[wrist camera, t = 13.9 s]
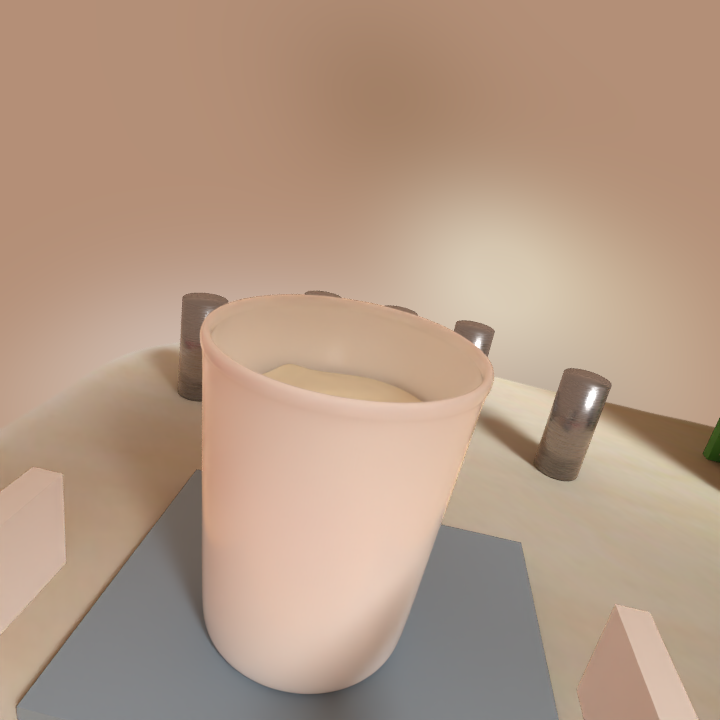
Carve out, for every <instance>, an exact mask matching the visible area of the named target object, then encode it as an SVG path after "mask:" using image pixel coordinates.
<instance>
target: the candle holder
mask: <svg viewBox="0 0 720 720" xmlns="http://www.w3.org/2000/svg"><path fill="white" fill-rule="evenodd" d="M200 344H201V348H202V606H203V615H204V621H205V625H206V628H207V631H208V634H209V636H210V638H211V640H212V642H213V644H214V646H215V647H216V649H217V650H218V652H219V653H220V654H221V656H222V657H223V658H224V659H225V660H226V661H227V662H228V663H229V664H230V665H231V666H232V667H233V668H235V669H236V670H237V671H238V672H240V673H241V674H243V675H244V676H246V677H247V678H249V679H251V680H253V681H255V682H257V683H259V684H261V685H264V686H266V687H269V688H272V689H275V690H279V691H283V692H289V693H296V694H321V693H328V692H334V691H338V690H341V689H345V688H348V687H350V686H353V685H355V684H357V683H359V682H361V681H363V680H364V679H366V678H368V677H369V676H371V675H372V674H373V673H375V672H376V671H377V670H378V669H379V668H380V667H381V666H382V665H383V664H384V663H385V662H386V661H387V660H388V658H389V657H390V656H391V654H392V653H393V651H394V649H395V648H396V646H397V644H398V642H399V640H400V637H401V635H402V633H403V630H404V627H405V625H406V622H407V620H408V617H409V614H410V611H411V609H412V606H413V603H414V600H415V598H416V595H417V592H418V589H419V586H420V583H421V581H422V578H423V575H424V572H425V569H426V566H427V564H428V561H429V558H430V555H431V552H432V549H433V546H434V544H435V541H436V538H437V535H438V532H439V529H440V526H441V524H442V521H443V518H444V515H445V512H446V509H447V506H448V503H449V501H450V498H451V495H452V492H453V489H454V486H455V483H456V481H457V478H458V475H459V472H460V469H461V466H462V463H463V461H464V458H465V455H466V452H467V449H468V446H469V443H470V440H471V438H472V435H473V432H474V429H475V426H476V423H477V421H478V418H479V415H480V412H481V409H482V407H483V404H484V402H485V399H486V397H487V396H488V394H489V392H490V390H491V388H492V385H493V381H494V371H493V367H492V364H491V362H490V361H489V359H488V358H487V356H486V355H485V354H484V353H483V352H482V351H481V350H480V349H479V348H478V347H477V346H476V345H475V344H473V343H472V342H471V341H469V340H468V339H466V338H465V337H463V336H461V335H460V334H458V333H456V332H454V331H452V330H450V329H448V328H446V327H444V326H442V325H440V324H438V323H435V322H433V321H430V320H428V319H425V318H422V317H420V316H417V315H414V314H411V313H408V312H404V311H401V310H397V309H394V308H390V307H386V306H382V305H378V304H373V303H368V302H363V301H358V300H352V299H345V298H338V297H330V296H319V295H300V294H298V295H297V294H281V295H265V296H256V297H250V298H244V299H240V300H236V301H233V302H230V303H227V304H224V305H222V306H220V307H218V308H216V309H215V310H213V311H212V312H211V313H210V314H209V315H208V316H207V317H206V318H205V319H204V321H203V323H202V325H201V329H200Z"/></svg>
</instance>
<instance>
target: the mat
mask: <svg viewBox="0 0 720 720" xmlns="http://www.w3.org/2000/svg"><path fill="white" fill-rule="evenodd" d="M16 708H17V719H18V720H559V719H558V714H557V710H556V705H555V700H554V695H553V691H552V686H551V681H550V677H549V672H548V667H547V663H546V658H545V653H544V648H543V644H542V639H541V634H540V630H539V625H538V620H537V615H536V611H535V606H534V601H533V597H532V592H531V587H530V583H529V578H528V573H527V568H526V564H525V559H524V554H523V550H522V545H521V543H520V542H516V541H512V540H507V539H503V538H498V537H494V536H489V535H485V534H480V533H476V532H472V531H467V530H463V529H458V528H454V527H449V526H445V525H441V526H440V529H439V532H438V535H437V538H436V541H435V544H434V546H433V549H432V552H431V555H430V558H429V561H428V564H427V566H426V569H425V572H424V575H423V578H422V581H421V583H420V586H419V589H418V592H417V595H416V598H415V600H414V603H413V606H412V609H411V611H410V614H409V617H408V620H407V622H406V625H405V627H404V630H403V633H402V635H401V637H400V640H399V642H398V644H397V646H396V648H395V649H394V651H393V653H392V654H391V656H390V657H389V658H388V660H387V661H386V662H385V663H384V664H383V665H382V666H381V667H380V668H379V669H378V670H377V671H376V672H375V673H373V674H372V675H371V676H369V677H368V678H366V679H364V680H363V681H361V682H359V683H357V684H355V685H353V686H350V687H348V688H345V689H341V690H338V691H334V692H328V693H321V694H296V693H289V692H283V691H279V690H275V689H272V688H269V687H266V686H264V685H261V684H259V683H257V682H255V681H253V680H251V679H249V678H247V677H246V676H244V675H243V674H241V673H240V672H238V671H237V670H236V669H235V668H233V667H232V666H231V665H230V664H229V663H228V662H227V661H226V660H225V659H224V658H223V657H222V656H221V654H220V653H219V652H218V650H217V649H216V647H215V646H214V644H213V642H212V640H211V638H210V636H209V634H208V631H207V628H206V625H205V621H204V615H203V606H202V471H201V470H196V471H195V472H194V474H193V475H192V476H191V478H190V479H189V480H188V482H187V483H186V484H185V486H184V487H183V488H182V490H181V491H180V492H179V494H178V495H177V496H176V497H175V499H174V500H173V501H172V503H171V504H170V505H169V507H168V508H167V509H166V511H165V512H164V513H163V515H162V516H161V517H160V519H159V520H158V521H157V522H156V524H155V525H154V526H153V528H152V529H151V530H150V532H149V533H148V534H147V536H146V537H145V538H144V540H143V541H142V542H141V543H140V545H139V546H138V547H137V549H136V550H135V551H134V553H133V554H132V555H131V557H130V558H129V559H128V561H127V562H126V563H125V565H124V566H123V567H122V568H121V570H120V571H119V572H118V574H117V575H116V576H115V578H114V579H113V580H112V582H111V583H110V584H109V586H108V587H107V588H106V590H105V591H104V592H103V593H102V595H101V596H100V597H99V599H98V600H97V601H96V603H95V604H94V605H93V607H92V608H91V609H90V611H89V612H88V613H87V614H86V616H85V617H84V618H83V620H82V621H81V622H80V624H79V625H78V626H77V628H76V629H75V630H74V632H73V633H72V634H71V636H70V637H69V638H68V639H67V641H66V642H65V643H64V645H63V646H62V647H61V649H60V650H59V651H58V653H57V654H56V655H55V657H54V658H53V659H52V661H51V662H50V663H49V664H48V666H47V667H46V668H45V670H44V671H43V672H42V674H41V675H40V676H39V678H38V679H37V680H36V682H35V683H34V684H33V686H32V687H31V688H30V689H29V691H28V692H27V693H26V695H25V696H24V697H23V699H22V700H21V701H20V703H19V704H18V705H17V707H16Z"/></svg>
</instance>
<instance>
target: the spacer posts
mask: <svg viewBox="0 0 720 720" xmlns="http://www.w3.org/2000/svg"><path fill="white" fill-rule="evenodd" d="M305 295H319V296H330V297H338V298H341V297H340V296H338V295H336V294H333V293H329V292H324V291H308V292H306V293H305ZM182 301H183V302H182V320H181V339H180V359H179V379H178V393H179V394H180V395H181V396H182V397H184V398H187V399H190V400H196V401H202V348H201V344H200V329H201V325H202V323H203V321H204V319H205V318H206V317H207V316H208V315H209V314H210V313H211V312H212V311H213V310H215V309H216V308H218V307H220V306H222V305H224V304H227V303H228V300H227V299H226V298H224V297H221V296H218V295H215V294H209V293H190V294H186V295H184V296H183V299H182ZM386 307H390V308H394V309H397V310H401V311H404V312H408V313H411V314H414V315H417V313H415V312H414V311H412V310H409V309H407V308H403V307H399V306H389V305H388V306H386ZM417 316H418V315H417ZM454 332H456V333H458V334H460V335H461V336H463V337H465V338H466V339H468V340H469V341H471V342H472V343H473V344H475V345H476V346H477V347H478V348H479V349H480V350H481V351H482V352H483V353H484V354H485V355H486V356H487V357H488V354H489V350H490V346H491V343H492V339H493V336H494V332H495V331H494V330H493V329H492V328H491V327H489V326H487V325H484V324H481V323H477V322H473V321H463V320H462V321H457V322H456V325H455V329H454ZM610 388H611V383H610V382H609V381H608V380H607V379H605V378H603V377H602V376H600V375H598V374H595V373H592V372H589V371H586V370H581V369H574V368H573V369H572V368H570V369H566V370H564V373H563V376H562V380H561V382H560V385H559V388H558V391H557V394H556V397H555V400H554V403H553V406H552V409H551V412H550V415H549V418H548V421H547V424H546V426H545V429H544V432H543V435H542V438H541V441H540V444H539V447H538V450H537V453H536V456H535V459H534V464H535V466H536V468H537V469H538V470H540V471H541V472H542V473H544V474H545V475H547V476H549V477H552V478H555V479H558V480H563V481H572V480H575V479H576V478H577V476H578V473H579V471H580V468H581V465H582V463H583V460H584V457H585V455H586V452H587V449H588V447H589V444H590V442H591V439H592V436H593V434H594V431H595V428H596V426H597V423H598V420H599V418H600V415H601V412H602V410H603V407H604V404H605V402H606V399H607V396H608V393H609V391H610Z"/></svg>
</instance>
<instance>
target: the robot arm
mask: <svg viewBox="0 0 720 720" xmlns="http://www.w3.org/2000/svg"><path fill="white" fill-rule="evenodd" d="M65 564H66V544H65V517H64V491H63V473H58V472H54V471H50V470H46V469H41V468H37V467H32V468H30V469H29V470H28V471H26V472H25V473H24V474H23V475H21V476H20V477H19V478H17V479H16V480H15V481H13V482H12V483H11V484H9V485H8V486H7V487H6V488H4V489H3V490H2V491H0V635H1V634H2V633H3V631H4V630H5V629H6V628H7V627H8V626H9V625H10V624H11V623H12V622H13V621H14V619H15V618H16V617H17V616H18V615H19V614H20V613H21V612H22V611H23V610H24V609H25V607H26V606H27V605H28V604H29V603H30V602H31V601H32V600H33V599H34V598H35V597H36V595H37V594H38V593H39V592H40V591H41V590H42V589H43V588H44V587H45V586H46V585H47V583H48V582H49V581H50V580H51V579H52V578H53V577H54V576H55V575H56V574H57V573H58V572H59V570H60V569H61V568H62V567H63V566H64V565H65ZM577 694H578V698H579V702H580V706H581V710H582V714H583V718H584V720H699V719H698V717H697V715H696V713H695V710H694V708H693V706H692V704H691V702H690V699H689V697H688V695H687V693H686V690H685V688H684V686H683V684H682V682H681V679H680V677H679V675H678V673H677V671H676V668H675V666H674V664H673V662H672V660H671V657H670V655H669V653H668V651H667V649H666V646H665V644H664V642H663V640H662V637H661V635H660V633H659V631H658V629H657V626H656V624H655V622H654V620H653V618H652V615H651V613H650V612H647V611H643V610H639V609H634V608H630V607H626V606H622V605H618V604H615V606H614V608H613V610H612V612H611V615H610V617H609V619H608V621H607V623H606V626H605V628H604V630H603V632H602V634H601V637H600V639H599V641H598V643H597V645H596V648H595V650H594V652H593V654H592V656H591V659H590V661H589V663H588V665H587V668H586V670H585V672H584V674H583V676H582V679H581V681H580V683H579V685H578V687H577Z"/></svg>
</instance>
